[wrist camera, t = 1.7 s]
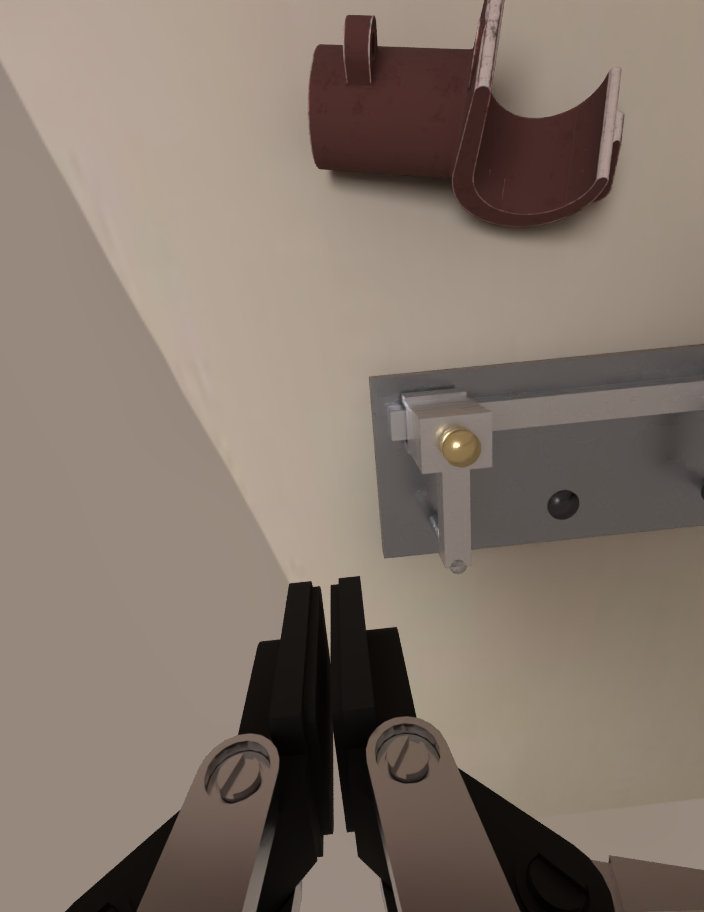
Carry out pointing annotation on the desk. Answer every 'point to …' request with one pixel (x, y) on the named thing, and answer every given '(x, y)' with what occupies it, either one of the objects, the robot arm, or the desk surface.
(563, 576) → the desk surface
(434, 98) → the bracket
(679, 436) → the bolt plate and beam
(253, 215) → the desk surface
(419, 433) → the sliding leg
